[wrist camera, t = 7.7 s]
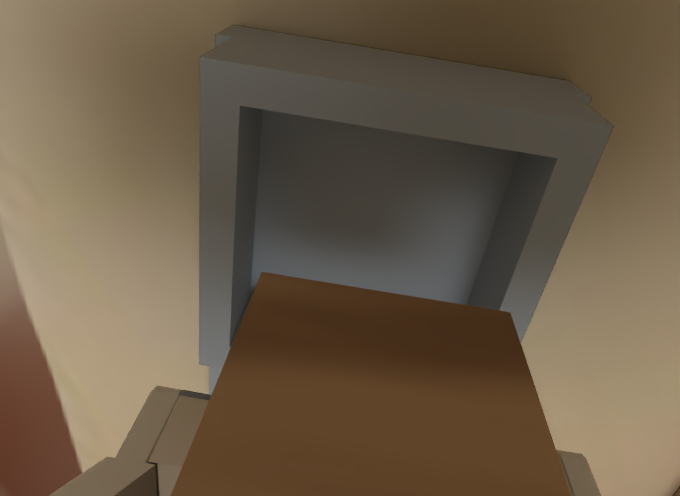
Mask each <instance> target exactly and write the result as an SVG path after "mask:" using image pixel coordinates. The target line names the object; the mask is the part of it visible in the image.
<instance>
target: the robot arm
mask: <svg viewBox="0 0 680 496" xmlns="http://www.w3.org/2000/svg"><path fill="white" fill-rule="evenodd" d="M210 397H211V395H208V394H203V393H197V392H192V391H187V390H180V389H174V388H168V387H163V386H156V387H155V388H154V389H153V390H152V391H151V392H150V394H149V396H148V398H147V400H146V402H145V404H144V405H143V407H142V409H141V411H140V413H139V415H138V417H137V418H136V420H135V422H134V424H133V426H132V428H131V430H130V431H129V433H128V435H127V437H126V439H125V441H124V443H123V444H122V446H121V448H120V450H119V452H118V454H117V456H116V458H113V457H106V458H104V459H103V460H101V461H100V462H98V463H97V464H95V465H94V466H92V467H91V468H90V469H88V470H87V471H85V472H84V473H82V474H81V475H79V476H78V477H76V478H75V479H73V480H72V481H70V482H69V483H67V484H66V485H64V486H63V487H61V488H60V489H58V490H57V491H55V492H54V493H52V494H51V495H50V496H171V493H172V491H173V488H174V486H175V483H176V481H177V479H178V476H179V474H180V471H181V469H182V466H183V464H184V461H185V459H186V456H187V454H188V451H189V449H190V447H191V444H192V442H193V439H194V437H195V434H196V432H197V429H198V427H199V424H200V422H201V419H202V417H203V415H204V412H205V410H206V407H207V405H208V402H209V400H210ZM556 452H557V455H558V458H559V461H560V464H561V467H562V470H563V473H564V476H565V479H566V482H567V485H568V488H569V491H570V494H571V496H601V494H600V492H599V489H598V487H597V484H596V482H595V479H594V477H593V474H592V472H591V469H590V467H589V464H588V462H587V459H586V458H585V457H584V456H583V455H582V454H579V453H573V452H566V451H560V450H556Z"/></svg>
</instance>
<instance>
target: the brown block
mask: <svg viewBox="0 0 680 496" xmlns="http://www.w3.org/2000/svg"><path fill="white" fill-rule="evenodd" d="M171 496H571V494H570V491H569V488H568V485H567V482H566V479H565V476H564V473H563V470H562V467H561V464H560V461H559V458H558V455H557V452H556V449H555V446H554V443H553V440H552V437H551V434H550V431H549V428H548V425H547V422H546V419H545V416H544V413H543V410H542V407H541V404H540V401H539V398H538V395H537V391H536V388H535V385H534V382H533V379H532V376H531V373H530V370H529V367H528V364H527V361H526V358H525V355H524V352H523V349H522V346H521V343H520V340H519V337H518V334H517V331H516V328H515V325H514V322H513V319H512V316H511V313H510V312H506V311H500V310H494V309H487V308H481V307H475V306H469V305H463V304H457V303H450V302H444V301H438V300H432V299H426V298H420V297H414V296H407V295H401V294H395V293H389V292H383V291H377V290H371V289H364V288H358V287H352V286H346V285H340V284H334V283H327V282H321V281H315V280H309V279H303V278H297V277H291V276H284V275H278V274H272V273H266V272H261V274H260V277H259V279H258V282H257V284H256V287H255V289H254V292H253V294H252V297H251V299H250V301H249V304H248V306H247V309H246V311H245V314H244V316H243V319H242V321H241V324H240V326H239V328H238V331H237V333H236V336H235V338H234V341H233V343H232V346H231V348H230V351H229V353H228V356H227V358H226V360H225V363H224V365H223V368H222V370H221V373H220V375H219V378H218V380H217V383H216V385H215V388H214V390H213V392H212V395H211V397H210V400H209V402H208V405H207V407H206V410H205V412H204V415H203V417H202V419H201V422H200V424H199V427H198V429H197V432H196V434H195V437H194V439H193V442H192V444H191V447H190V449H189V451H188V454H187V456H186V459H185V461H184V464H183V466H182V469H181V471H180V474H179V476H178V479H177V481H176V483H175V486H174V488H173V491H172V493H171Z"/></svg>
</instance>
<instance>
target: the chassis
mask: <svg viewBox="0 0 680 496" xmlns="http://www.w3.org/2000/svg"><path fill="white" fill-rule="evenodd" d="M591 98H592V97H591V96H590V95H588V94H587V93H586V92H584V91H583V90H582V89H580V88H579V87H578V86H576V85H575V84H574V83H573V82H571V81H567V80H561V79H555V78H549V77H543V76H537V75H531V74H525V73H519V72H513V71H507V70H501V69H495V68H489V67H483V66H477V65H471V64H465V63H459V62H453V61H447V60H441V59H435V58H429V57H423V56H417V55H411V54H405V53H399V52H393V51H387V50H381V49H375V48H369V47H363V46H357V45H351V44H345V43H339V42H333V41H327V40H321V39H315V38H309V37H303V36H297V35H291V34H285V33H279V32H273V31H267V30H261V29H255V28H249V27H243V26H237V25H232V26H230V27H228V28H226V29H224V30H223V31H221V32H219V33H217V34H215V48H214V49H212V50H211V51H209V52H208V53H206V54H204V55H203V56H201V57H200V248H199V364H201V365H207V366H210V381H209V395H212V392H213V390H214V388H215V385H216V383H217V380H218V378H219V375H220V373H221V370H222V368H223V365H224V363H225V360H226V358H227V356H228V353H229V351H230V348H231V346H232V343H233V341H234V338H235V336H236V333H237V331H238V328H239V326H240V324H241V321H242V319H243V316H244V314H245V311H246V309H247V306H248V304H249V301H250V299H251V297H252V294H253V292H254V289H255V287H256V284H257V282H258V279H259V277H260V274H261V272H266V273H272V274H278V275H284V276H291V277H297V278H303V279H309V280H315V281H321V282H327V283H334V284H340V285H346V286H352V287H358V288H364V289H371V290H377V291H383V292H389V293H395V294H401V295H407V296H414V297H420V298H426V299H432V300H438V301H444V302H450V303H457V304H463V305H469V306H475V307H481V308H487V309H494V310H500V311H506V312H510V313H511V316H512V319H513V322H514V325H515V328H516V331H517V334H518V337H519V340H520V343H521V342H522V339H523V337H524V335H525V332H526V330H527V328H528V325H529V323H530V321H531V318H532V316H533V314H534V311H535V309H536V307H537V304H538V302H539V300H540V297H541V295H542V293H543V290H544V288H545V286H546V283H547V281H548V279H549V276H550V274H551V272H552V269H553V267H554V265H555V262H556V260H557V258H558V255H559V253H560V251H561V248H562V246H563V244H564V241H565V239H566V237H567V234H568V232H569V230H570V227H571V225H572V223H573V220H574V218H575V216H576V213H577V211H578V209H579V206H580V204H581V202H582V199H583V197H584V195H585V192H586V190H587V188H588V185H589V183H590V181H591V178H592V176H593V174H594V171H595V169H596V167H597V164H598V162H599V160H600V157H601V155H602V153H603V150H604V148H605V146H606V143H607V141H608V139H609V136H610V134H611V132H612V129H613V127H614V126H613V125H612V124H611V123H610V122H608V121H607V120H606V119H605V118H603V117H602V116H601V115H600V114H599V113H597V112H596V111H595V110H594V109H592V108H591V107H590V106H589V103H590V101H591Z"/></svg>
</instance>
